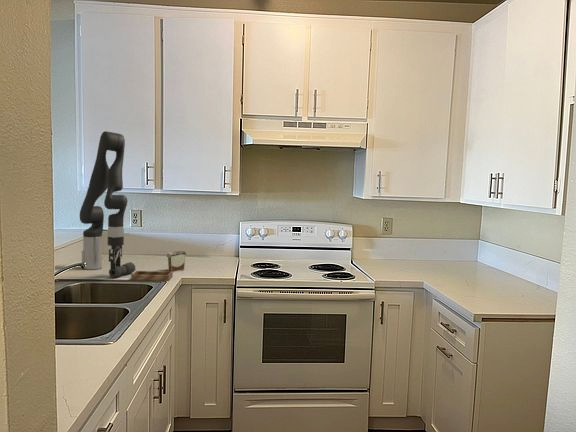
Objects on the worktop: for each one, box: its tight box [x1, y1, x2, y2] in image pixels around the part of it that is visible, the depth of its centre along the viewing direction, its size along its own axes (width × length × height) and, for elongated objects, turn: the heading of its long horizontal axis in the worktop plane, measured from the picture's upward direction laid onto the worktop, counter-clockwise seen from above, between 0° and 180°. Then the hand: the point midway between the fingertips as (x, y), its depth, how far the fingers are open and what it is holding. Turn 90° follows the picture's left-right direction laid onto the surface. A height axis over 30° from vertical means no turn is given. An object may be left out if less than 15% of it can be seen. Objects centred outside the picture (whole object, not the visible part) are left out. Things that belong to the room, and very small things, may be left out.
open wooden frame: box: [130, 270, 174, 282], centre depth 234 cm, size 18×10×2 cm, turn 94°
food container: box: [166, 250, 187, 273], centre depth 255 cm, size 12×6×10 cm, turn 149°
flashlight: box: [108, 261, 137, 278], centre depth 237 cm, size 15×5×5 cm, turn 163°
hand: (115, 268), depth 232 cm, fingers open, 8 cm apart
